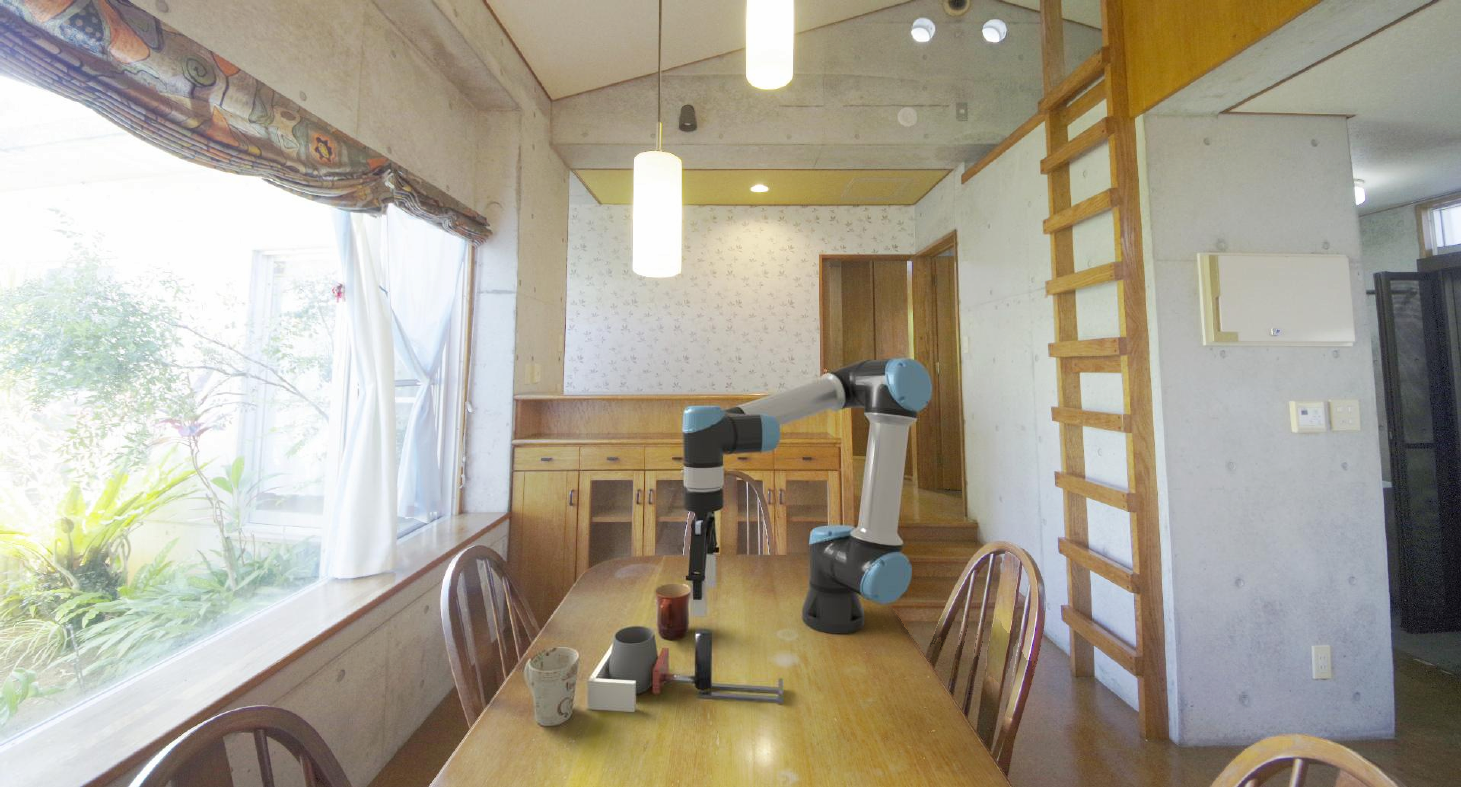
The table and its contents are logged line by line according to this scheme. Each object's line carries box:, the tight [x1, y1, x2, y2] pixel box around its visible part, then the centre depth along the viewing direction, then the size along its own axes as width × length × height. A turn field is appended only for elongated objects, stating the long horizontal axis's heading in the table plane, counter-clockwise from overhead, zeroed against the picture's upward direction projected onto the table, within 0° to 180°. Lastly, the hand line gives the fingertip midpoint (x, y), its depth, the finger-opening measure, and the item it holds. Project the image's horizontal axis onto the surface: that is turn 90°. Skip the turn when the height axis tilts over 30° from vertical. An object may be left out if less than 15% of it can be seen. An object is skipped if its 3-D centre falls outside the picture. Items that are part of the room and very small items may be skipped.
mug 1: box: [524, 646, 580, 727], centre depth 93 cm, size 8×13×10 cm, turn 58°
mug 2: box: [653, 582, 690, 640], centre depth 121 cm, size 12×9×10 cm
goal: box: [587, 643, 637, 713], centre depth 101 cm, size 8×15×5 cm, turn 174°
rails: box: [697, 678, 784, 706], centre depth 99 cm, size 16×5×2 cm, turn 85°
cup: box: [609, 625, 659, 695], centre depth 101 cm, size 10×9×10 cm
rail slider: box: [652, 628, 713, 694], centre depth 100 cm, size 10×8×10 cm
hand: (704, 600), depth 99 cm, fingers open, 13 cm apart
